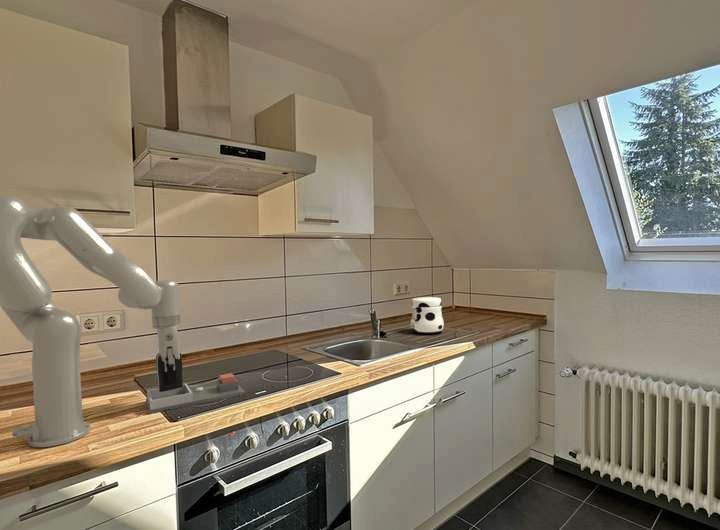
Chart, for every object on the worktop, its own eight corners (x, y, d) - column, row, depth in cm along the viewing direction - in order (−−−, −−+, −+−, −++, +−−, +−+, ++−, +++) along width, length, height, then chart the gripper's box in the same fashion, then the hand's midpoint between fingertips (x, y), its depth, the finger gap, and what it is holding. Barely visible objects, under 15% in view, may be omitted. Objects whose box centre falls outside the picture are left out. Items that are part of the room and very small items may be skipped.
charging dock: (149, 414, 116) (148, 401, 115) (146, 401, 126) (145, 390, 126) (245, 394, 130) (244, 383, 129) (235, 384, 140) (234, 374, 140)
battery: (180, 384, 128) (178, 348, 127) (184, 387, 125) (182, 350, 124) (155, 390, 123) (153, 352, 123) (159, 393, 120) (157, 354, 120)
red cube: (222, 391, 130) (222, 378, 130) (219, 387, 133) (219, 375, 133) (235, 388, 132) (234, 376, 132) (232, 385, 135) (231, 373, 135)
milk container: (448, 330, 222) (447, 297, 221) (436, 336, 207) (435, 301, 206) (418, 328, 231) (418, 296, 230) (405, 334, 216) (404, 300, 216)
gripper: (184, 323, 118) (187, 387, 118) (176, 316, 132) (178, 373, 133) (154, 327, 114) (158, 392, 115) (149, 319, 128) (153, 377, 129)
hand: (169, 381), depth 124 cm, fingers closed on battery, 4 cm apart
